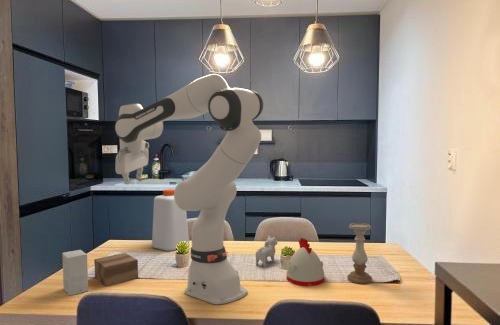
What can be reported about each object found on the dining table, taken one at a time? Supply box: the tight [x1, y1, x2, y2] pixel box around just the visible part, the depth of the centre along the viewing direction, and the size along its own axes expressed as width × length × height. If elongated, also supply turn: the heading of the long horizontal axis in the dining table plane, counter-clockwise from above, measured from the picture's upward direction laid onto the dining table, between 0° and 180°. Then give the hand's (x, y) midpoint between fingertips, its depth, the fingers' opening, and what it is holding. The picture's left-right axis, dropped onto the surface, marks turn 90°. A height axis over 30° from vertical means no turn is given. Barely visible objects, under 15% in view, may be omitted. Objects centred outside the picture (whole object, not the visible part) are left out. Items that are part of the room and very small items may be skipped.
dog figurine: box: [255, 235, 278, 268], centre depth 155 cm, size 5×13×11 cm, turn 144°
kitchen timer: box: [286, 237, 325, 287], centre depth 136 cm, size 14×14×15 cm
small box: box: [61, 249, 89, 296], centre depth 128 cm, size 8×6×13 cm
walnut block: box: [93, 252, 139, 287], centre depth 139 cm, size 12×12×7 cm
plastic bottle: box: [151, 188, 190, 252], centre depth 180 cm, size 15×15×28 cm
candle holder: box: [347, 222, 373, 285], centre depth 134 cm, size 9×9×20 cm
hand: (133, 180), depth 144 cm, fingers open, 8 cm apart
